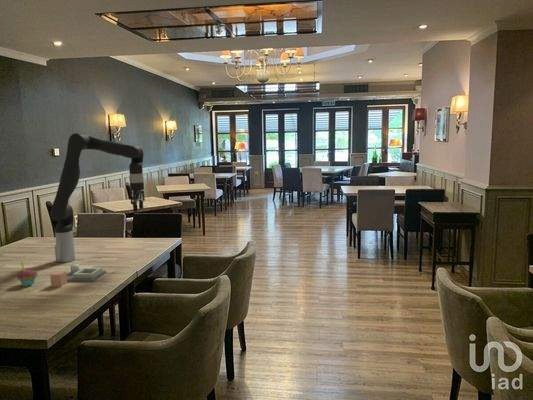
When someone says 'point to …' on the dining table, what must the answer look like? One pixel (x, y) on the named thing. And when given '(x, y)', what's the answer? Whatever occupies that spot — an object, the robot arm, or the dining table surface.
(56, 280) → the block
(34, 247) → the dining table surface
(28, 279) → the cupcake
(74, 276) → the base board
